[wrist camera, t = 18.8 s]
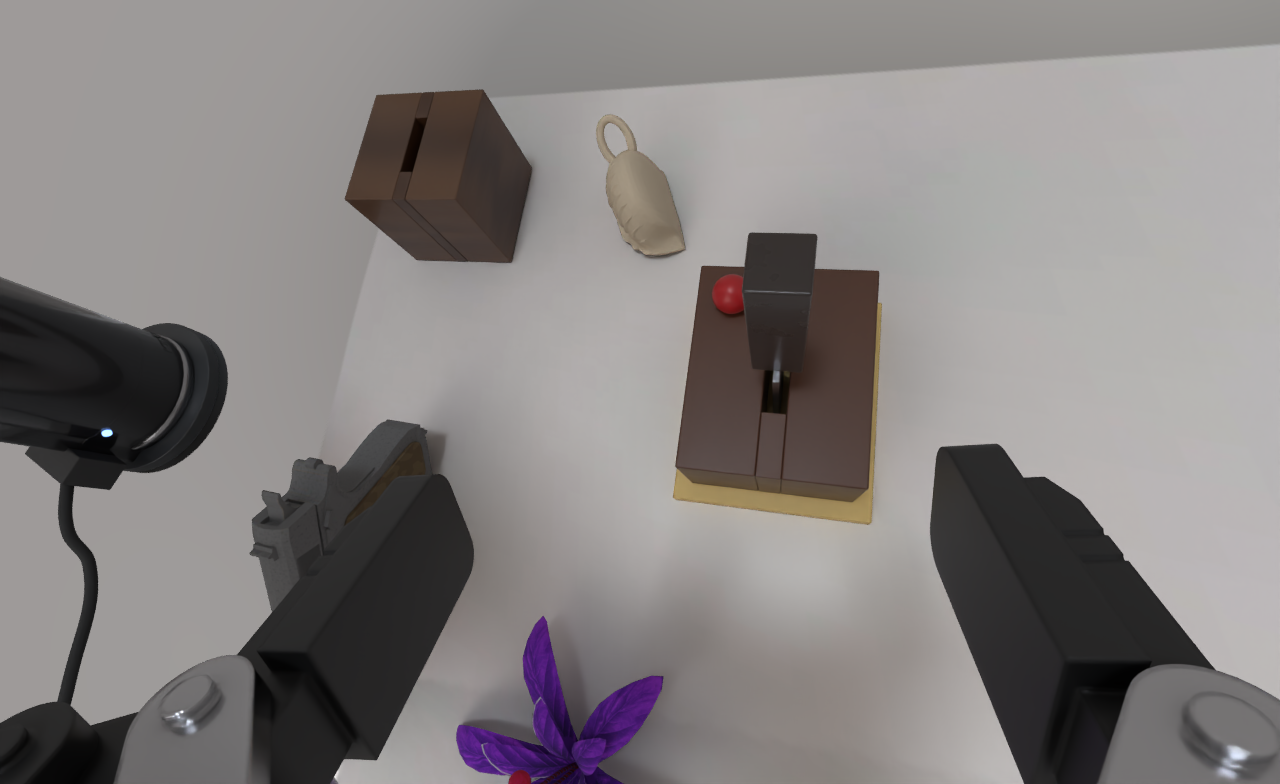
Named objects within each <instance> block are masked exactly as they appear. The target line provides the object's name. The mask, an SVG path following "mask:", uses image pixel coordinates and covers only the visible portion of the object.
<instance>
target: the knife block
mask: <svg viewBox="0 0 1280 784" xmlns="http://www.w3.org/2000/svg"><path fill="white" fill-rule="evenodd" d="M531 171H532V167H531V166H530V164H529V163H528V161H527V159H526V158H525V156H524V155H523V153H522V151H521V150H520V148H519V146H518V145H517V143H516V142H515V140H514V138H513V137H512V135H511V134H510V132H509V130H508V129H507V127H506V126H505V124H504V122H503V121H502V119H501V118H500V116H499V114H498V113H497V111H496V109H495V108H494V106H493V105H492V103H491V101H490V100H489V98H488V97H487V95H486V93H485V92H484V90H465V91H445V92H435V93H434V92H425V93H407V94H387V95H376V98H375V101H374V105H373V108H372V111H371V114H370V118H369V121H368V124H367V128H366V131H365V134H364V138H363V141H362V144H361V147H360V150H359V154H358V157H357V160H356V163H355V167H354V170H353V173H352V177H351V180H350V183H349V186H348V190H347V193H346V196H345V200H346V201H347V202H349V203H350V204H351V205H352V206H353V207H354V208H356V209H357V210H358V211H359V212H360V213H361V214H363V215H364V216H365V217H366V218H368V219H369V220H370V221H371V222H372V223H373V224H375V225H376V226H377V227H378V228H379V229H380V230H382V231H383V232H384V233H385V234H386V235H388V236H389V237H390V238H391V239H392V240H394V241H395V242H396V243H397V244H398V245H400V246H401V247H402V248H403V249H404V250H405V251H407V252H408V253H409V254H410V255H411V256H413V257H414V258H415V259H416V260H441V261H477V262H512V257H513V253H514V248H515V243H516V239H517V234H518V230H519V225H520V221H521V216H522V212H523V207H524V203H525V198H526V193H527V189H528V184H529V180H530V175H531Z"/></svg>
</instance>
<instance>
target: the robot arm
mask: <svg viewBox="0 0 1280 784" xmlns="http://www.w3.org/2000/svg"><path fill="white" fill-rule="evenodd" d="M193 385H194V366H193V362H192V359H191V356H190V354H189V352H188V351H187V349H186V348H185V347H184V346H183V345H182V344H180V343H179V342H177V341H176V340H173V339H170V338H168V337H165V336H162V335H158V334H155V333H152V332H150V331H147V330H143V329H140V328H137V327H134V326H131V325H129V324H126V323H124V322H121V321H118V320H115V319H112V318H110V317H107V316H105V315H102V314H99V313H97V312H94V311H91V310H88V309H86V308H83V307H80V306H77V305H75V304H72V303H69V302H67V301H64V300H61V299H59V298H56V297H53V296H50V295H48V294H45V293H42V292H40V291H37V290H34V289H31V288H29V287H26V286H23V285H21V284H18V283H15V282H12V281H10V280H7V279H4V278H2V277H0V442H5V443H11V444H18V445H24V446H30V447H29V449H28V450H27V451H26V453H25V454H26V455H27V456H28V457H29V458H30V459H32V460H33V461H34V462H35V463H37V464H38V465H39V466H40V467H41V468H42V469H44V470H45V471H46V472H47V473H48V474H50V475H51V476H52V477H53V478H54V479H56V480H57V481H58V482H59V483H60V495H59V505H58V519H59V526H60V530H61V534H62V537H63V539H64V541H65V542H66V543H67V545H68V546H69V547H70V548H71V549H72V550H73V552H74V553H75V554H76V555H77V556H78V557H79V559H80V560H81V562H82V566H83V572H84V582H85V588H84V601H83V607H82V612H81V616H80V620H79V624H78V628H77V631H76V634H75V638H74V641H73V644H72V648H71V651H70V654H69V657H68V661H67V665H66V668H65V672H64V676H63V680H62V684H61V689H60V693H59V697H58V701H57V702H50V703H46V704H41V705H38V706H35V707H32V708H30V709H27V710H25V711H23V712H20V713H19V714H16V715H14V716H12V717H10V718H9V719H7V720H5V721H3V722H2V723H0V784H338V783H337V781H336V779H335V778H334V776H335V774H336V772H337V770H338V769H339V767H340V765H341V763H342V761H343V760H344V759H361V760H377V759H378V757H379V755H380V753H381V751H382V749H383V747H384V745H385V743H386V741H387V739H388V737H389V735H390V733H391V731H392V729H393V727H394V725H395V723H396V721H397V719H398V717H399V715H400V713H401V711H402V709H403V707H404V705H405V703H406V701H407V699H408V697H409V695H410V693H411V691H412V689H413V687H414V685H415V683H416V681H417V679H418V677H419V676H420V674H421V672H422V670H423V668H424V666H425V664H426V662H427V660H428V658H429V656H430V654H431V652H432V650H433V648H434V646H435V644H436V642H437V640H438V638H439V636H440V634H441V632H442V630H443V628H444V626H445V624H446V622H447V620H448V618H449V616H450V614H451V612H452V610H453V608H454V606H455V604H456V602H457V600H458V598H459V596H460V594H461V592H462V590H463V588H464V586H465V584H466V582H467V580H468V578H469V576H470V574H471V571H472V567H473V560H474V548H473V542H472V539H471V536H470V533H469V531H468V528H467V526H466V523H465V521H464V518H463V516H462V513H461V511H460V508H459V506H458V503H457V501H456V498H455V496H454V493H453V490H452V488H451V485H450V483H449V481H448V480H447V478H446V477H445V476H443V475H441V474H431V475H414V476H399V477H397V478H395V479H394V480H393V481H392V482H391V483H390V484H389V485H388V487H387V488H386V489H385V490H384V492H383V493H382V494H381V495H380V497H379V498H378V499H377V500H376V502H375V503H374V504H373V505H372V506H370V507H369V508H367V509H366V510H365V511H363V512H362V513H361V514H359V515H358V516H357V517H355V518H354V519H353V520H352V521H350V522H349V523H348V524H346V525H345V526H344V527H342V529H341V530H340V531H339V532H338V533H337V535H336V536H335V537H334V538H333V540H332V541H331V542H330V543H329V544H328V546H327V547H326V548H325V549H324V550H323V556H318V558H317V559H316V560H315V561H314V563H313V564H312V565H311V566H310V567H309V569H308V570H307V575H306V576H302V577H301V578H300V579H299V581H298V582H297V583H296V584H295V585H294V587H293V588H292V589H291V590H290V592H289V593H288V594H287V595H286V596H285V598H284V599H283V600H282V601H281V602H280V604H279V605H278V606H277V607H276V608H275V610H274V611H273V612H272V613H271V615H270V616H269V617H268V618H267V620H266V621H265V622H264V623H263V624H262V625H261V627H260V628H259V629H258V630H257V632H256V633H255V634H254V635H253V636H252V637H251V639H250V640H249V641H248V642H247V644H246V645H245V646H244V647H243V648H242V650H241V651H240V652H239V653H238V654H237V655H226V656H221V657H217V658H213V659H210V660H207V661H205V662H202V663H200V664H198V665H196V666H194V667H192V668H190V669H188V670H187V671H185V672H183V673H182V674H180V675H179V676H177V677H176V678H174V679H173V680H171V681H170V682H169V683H167V684H166V685H165V686H164V687H163V688H161V689H160V690H159V691H158V692H157V693H156V694H155V695H154V696H153V697H152V698H151V699H150V700H149V701H148V702H147V703H146V704H145V705H144V706H143V708H142V709H141V710H140V711H139V712H137V713H133V714H130V715H126V716H123V717H119V718H116V719H112V720H109V721H105V722H102V723H98V724H95V725H91V726H90V725H89V724H88V723H87V722H86V721H85V720H84V719H83V718H82V717H81V716H80V715H79V714H78V713H77V712H76V711H75V710H74V709H73V708H72V707H71V706H70V705H71V701H72V697H73V693H74V689H75V685H76V680H77V676H78V672H79V668H80V664H81V660H82V657H83V653H84V650H85V646H86V643H87V640H88V636H89V633H90V630H91V626H92V622H93V618H94V614H95V610H96V603H97V596H98V574H97V566H96V561H95V558H94V556H93V554H92V552H91V551H90V550H89V548H88V547H87V546H86V545H85V544H84V543H83V542H82V541H81V540H80V538H79V537H78V535H77V534H76V531H75V528H74V524H73V517H72V503H73V492H74V486H80V487H89V488H98V489H107V490H110V489H111V488H112V486H113V485H114V483H115V482H116V480H117V479H118V477H119V476H120V474H121V473H122V471H123V470H124V468H125V467H126V464H125V463H124V462H122V461H126V462H134V461H135V459H136V458H137V456H138V455H139V454H140V453H141V451H142V450H145V449H147V448H149V447H151V446H153V445H154V444H156V443H157V442H159V441H160V440H161V439H163V438H164V437H165V436H166V435H167V434H168V433H169V432H170V431H171V430H172V429H173V428H174V427H175V425H176V424H177V423H178V421H179V420H180V418H181V417H182V415H183V413H184V412H185V410H186V408H187V405H188V403H189V400H190V398H191V394H192V391H193ZM1103 530H1104V529H1103V528H1102V527H1101V526H1100V524H1099V523H1098V522H1097V520H1096V519H1095V518H1094V517H1093V515H1092V514H1091V513H1090V512H1089V510H1088V509H1087V508H1086V507H1085V505H1084V504H1083V503H1082V502H1081V500H1079V499H1078V498H1076V497H1075V496H1073V495H1072V494H1070V493H1069V492H1067V491H1066V490H1064V489H1062V488H1061V487H1059V486H1058V485H1056V484H1055V483H1053V482H1052V481H1050V480H1049V479H1047V478H1046V477H1029V478H1023V476H1022V475H1021V473H1020V472H1019V470H1018V469H1017V468H1016V466H1015V465H1014V463H1013V462H1012V460H1011V459H1010V458H1009V456H1008V455H1007V453H1006V452H1005V450H1004V449H1003V448H1002V447H1001V446H1000V445H998V444H983V445H965V446H948V447H941V448H940V449H939V450H938V453H937V457H936V466H935V477H934V488H933V500H932V511H931V522H930V537H931V546H932V552H933V557H934V561H935V564H936V567H937V570H938V572H939V575H940V577H941V580H942V582H943V585H944V587H945V590H946V592H947V595H948V597H949V599H950V602H951V604H952V607H953V609H954V612H955V614H956V617H957V619H958V622H959V624H960V627H961V629H962V631H963V634H964V636H965V639H966V641H967V644H968V646H969V649H970V651H971V654H972V656H973V659H974V661H975V664H976V666H977V668H978V671H979V673H980V676H981V678H982V681H983V683H984V686H985V688H986V691H987V693H988V696H989V698H990V700H991V703H992V705H993V708H994V710H995V713H996V715H997V718H998V720H999V723H1000V725H1001V728H1002V730H1003V733H1004V735H1005V737H1006V740H1007V742H1008V745H1009V747H1010V750H1011V752H1012V755H1013V757H1014V760H1015V762H1016V765H1017V767H1018V769H1019V772H1020V774H1021V777H1022V779H1023V782H1024V784H1280V700H1279V699H1277V698H1276V697H1274V696H1272V695H1271V694H1269V693H1267V692H1265V691H1263V690H1262V689H1260V688H1258V687H1256V686H1254V685H1252V684H1250V683H1248V682H1246V681H1243V680H1241V679H1239V678H1237V677H1234V676H1231V675H1228V674H1225V673H1223V672H1220V671H1216V670H1215V669H1214V667H1213V666H1212V665H1211V664H1210V663H1209V662H1208V660H1207V659H1206V658H1205V657H1204V655H1203V654H1202V653H1201V652H1200V650H1199V649H1198V648H1197V647H1196V645H1195V644H1194V643H1193V641H1192V640H1191V639H1190V638H1189V636H1188V635H1187V634H1186V633H1185V631H1184V630H1183V629H1182V628H1181V626H1180V625H1179V624H1178V623H1177V621H1176V620H1175V619H1174V618H1173V616H1172V615H1171V614H1170V612H1169V611H1168V610H1167V609H1166V607H1165V606H1164V605H1163V604H1162V602H1161V601H1160V600H1159V599H1158V597H1157V596H1156V595H1155V594H1154V592H1153V591H1152V590H1151V589H1150V587H1149V586H1148V585H1147V583H1146V582H1145V581H1144V580H1143V578H1142V577H1141V576H1140V575H1139V573H1138V572H1137V571H1136V570H1135V568H1134V567H1133V566H1132V565H1131V563H1130V562H1129V561H1125V560H1124V558H1123V553H1122V552H1121V551H1120V549H1119V548H1118V547H1117V546H1116V544H1115V543H1114V542H1113V541H1112V539H1111V538H1110V537H1109V536H1108V535H1104V532H1103Z"/></svg>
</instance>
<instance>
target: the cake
mask: <svg viewBox="0 0 1280 784" xmlns="http://www.w3.org/2000/svg"><path fill="white" fill-rule="evenodd" d="M743 276H744V267H724V266H702V267H701V274H700V282H699V290H698V297H697V305H696V312H695V320H694V328H693V335H692V343H691V350H690V358H689V366H688V373H687V381H686V388H685V396H684V404H683V411H682V419H681V427H680V434H679V442H678V449H677V457H676V465H675V466H676V468H677V471H676V479H675V486H674V494H673V498H675V499H676V500H683V501H690V502H698V503H706V504H713V505H721V506H729V507H736V508H744V509H752V510H760V511H767V512H775V513H783V514H790V515H798V516H806V517H813V518H821V519H829V520H837V521H844V522H852V523H860V524H867V525H868V524H870V523H871V521H872V500H873V479H874V458H875V437H876V416H877V394H878V373H879V352H880V331H881V310H882V304H881V303H878V289H879V271H867V270H831V269H815V270H814V282H813V293H812V301H811V309H810V317H809V325H808V333H807V341H806V349H805V356H804V364H803V371H802V372H801V373H797V372H784V379H783V389H782V400H781V410H780V414H779V413H773V387H772V380H773V371H771V370H758V369H752V365H751V357H750V350H749V342H748V335H747V327H746V320H745V312H744V305H743V297H742V284H743Z"/></svg>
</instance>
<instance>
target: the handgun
mask: <svg viewBox="0 0 1280 784" xmlns="http://www.w3.org/2000/svg"><path fill="white" fill-rule="evenodd" d="M425 434H427V430H424V429H423V428H420V425H418V424H412V423H406V422H400V421H393V420H386V421H385V422H383V423H381V424H379V425H378V426H377V427H376V428H375V429H374V430H373V431H372V432H371V433H370V434H369V435H368V436H367V438H366V439H365V440H364V441H363V442H362V444H361V445H360V446H359V448H358V449H357V450H356V451H355V453H354V454H353V455H352V457H351V458H350V459H349V461H348V462H347V463H346V465H345V466H344V467H343V468H341V469H340V470H339V471H338V472H337V470H336V467H335V466H332V465H326V464H324V463H323V461H322V460H321V459H316V458H308V459H307V460H300V459H298V460H296V461H295V462H294V465H293V468H292V480H291V485H290V489H289V491H288V492H287V493H286V494H285V495H284V496H283V497H281V495H280V494H279V493H274V492H269V491H265V490H263V491H262V499H263V501H264V502H265V504H266V505H267V507H266V508H265V509H263V510H262V511H261V512H260V513H259V514H257V515H256V516H255V517H254V518H253V519H252V530H253V537H254V541H255V544H254V545H253V547H254V548H253V550H252V551H251V552H250V555H252V556H256V557H259V560H260V564H261V568H262V572H263V576H264V580H265V585H266V589H267V593H268V597H269V601H270V605H271V610H272V612H273V611H274V610H275V608H276V607H277V606H278V605H279V604H280V602H281V601H282V600H283V599H284V598H285V596H286V595H287V594H288V593H289V592H290V590H291V589H292V588H293V587H294V585H295V584H296V583H297V582H298V581H299V579H300V578H301V577H302V576H306V575H307V570H308V569H309V567H310V566H311V565H312V564H313V563H314V561H315V560H316V559H317V558H318V556H323V550H324V549H325V548H326V547H327V546H328V544H329V543H330V542H331V541H332V540H333V538H334V537H335V536H336V535H337V533H338V532H339V531H340V530H341V529H342V527H344V526H345V525H346V524H348V523H349V522H350V521H352V520H353V519H354V518H355V517H357V516H358V515H359V514H361V513H362V512H363V511H365V510H366V509H367V508H369V507H370V506H372V505H373V504H374V503H375V502H376V500H377V499H378V498H379V497H380V495H381V494H382V493H383V492H384V490H385V489H386V488H387V487H388V485H389V484H390V483H391V482H392V481H393V480H394V479H395V478H397V477H399V476H414V475H431V474H432V471H431V465H430V459H429V453H428V447H427V442H426V437H425Z"/></svg>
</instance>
